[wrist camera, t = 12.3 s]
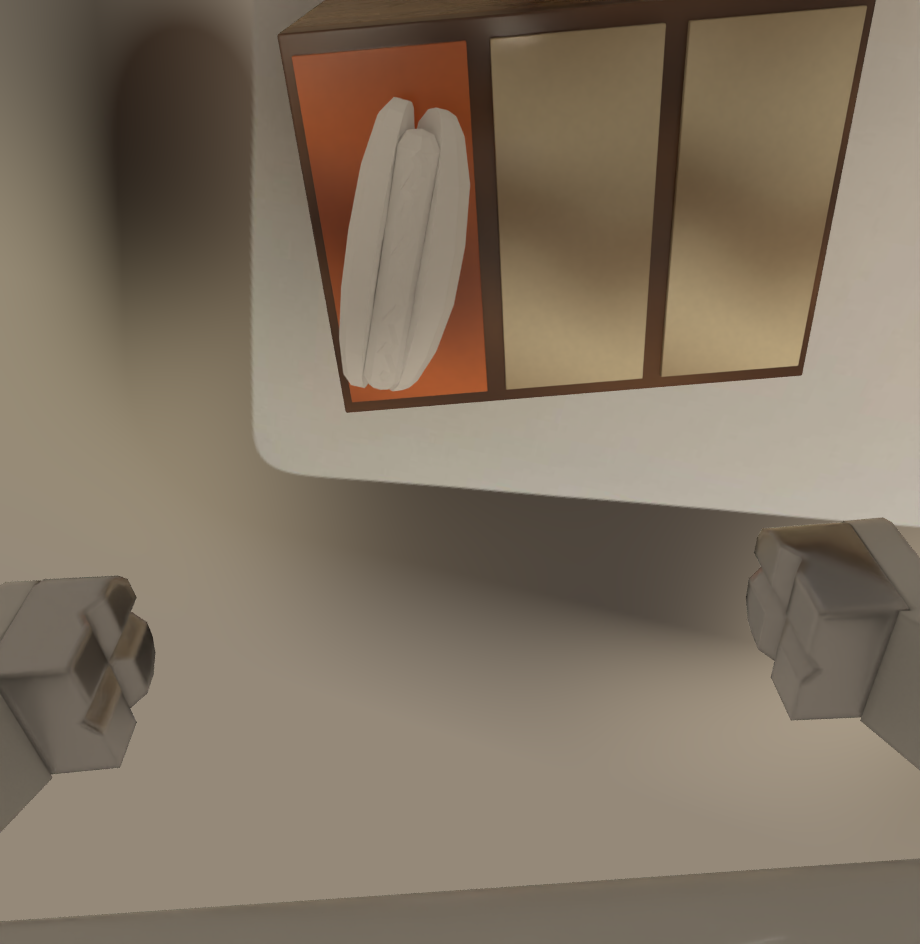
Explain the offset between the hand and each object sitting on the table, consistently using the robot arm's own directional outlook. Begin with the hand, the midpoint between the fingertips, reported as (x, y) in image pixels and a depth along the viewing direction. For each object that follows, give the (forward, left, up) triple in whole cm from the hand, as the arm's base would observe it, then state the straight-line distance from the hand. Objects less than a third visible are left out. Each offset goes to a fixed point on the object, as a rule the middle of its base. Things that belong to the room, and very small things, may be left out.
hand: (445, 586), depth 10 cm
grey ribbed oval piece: (0, -1, -15) cm, 15 cm away
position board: (0, +4, -16) cm, 17 cm away
